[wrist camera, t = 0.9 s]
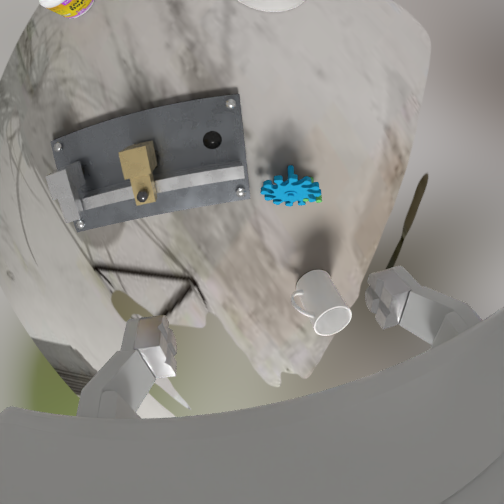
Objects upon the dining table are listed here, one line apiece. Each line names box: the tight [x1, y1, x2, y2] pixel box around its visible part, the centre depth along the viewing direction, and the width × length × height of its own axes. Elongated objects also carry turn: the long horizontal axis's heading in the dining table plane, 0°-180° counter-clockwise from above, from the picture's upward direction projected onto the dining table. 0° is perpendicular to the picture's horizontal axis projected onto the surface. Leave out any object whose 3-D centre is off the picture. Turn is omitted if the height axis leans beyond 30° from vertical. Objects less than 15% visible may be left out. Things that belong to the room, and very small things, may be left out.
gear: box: [261, 165, 322, 206], centre depth 45 cm, size 11×6×10 cm
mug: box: [291, 270, 352, 336], centre depth 56 cm, size 12×8×12 cm
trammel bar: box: [46, 160, 245, 223], centre depth 38 cm, size 8×31×7 cm, turn 95°
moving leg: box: [119, 140, 157, 206], centre depth 38 cm, size 8×4×7 cm, turn 5°
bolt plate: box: [51, 94, 250, 232], centre depth 41 cm, size 18×33×2 cm, turn 95°
